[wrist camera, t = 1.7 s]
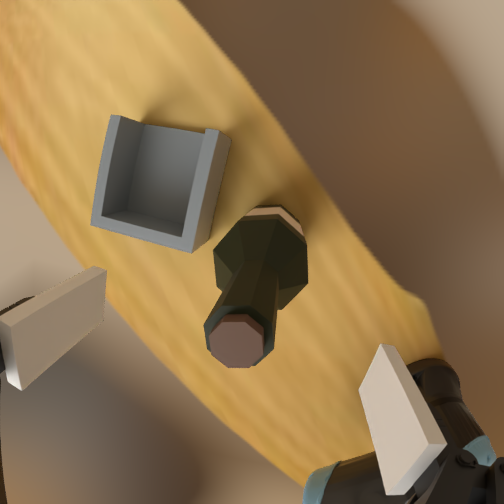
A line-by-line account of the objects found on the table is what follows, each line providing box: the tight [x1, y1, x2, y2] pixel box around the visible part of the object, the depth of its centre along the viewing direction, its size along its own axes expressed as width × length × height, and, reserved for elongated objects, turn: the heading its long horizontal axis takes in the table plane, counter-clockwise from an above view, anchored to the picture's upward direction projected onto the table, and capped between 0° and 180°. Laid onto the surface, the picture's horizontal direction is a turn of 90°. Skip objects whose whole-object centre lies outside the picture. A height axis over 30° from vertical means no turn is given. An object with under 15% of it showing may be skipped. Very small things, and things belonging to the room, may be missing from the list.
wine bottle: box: [204, 205, 308, 368], centre depth 28 cm, size 8×8×30 cm
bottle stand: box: [90, 115, 231, 253], centre depth 39 cm, size 14×14×8 cm
